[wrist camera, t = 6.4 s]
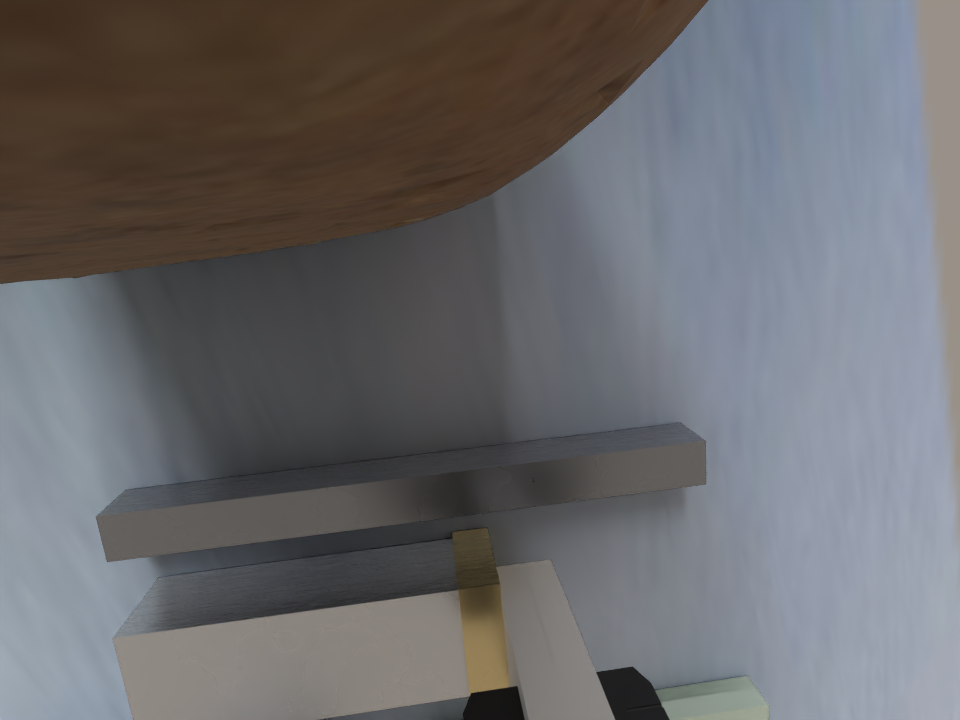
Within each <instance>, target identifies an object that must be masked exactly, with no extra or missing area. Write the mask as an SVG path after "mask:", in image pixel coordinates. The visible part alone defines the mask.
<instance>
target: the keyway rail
mask: <svg viewBox="0 0 960 720" xmlns="http://www.w3.org/2000/svg"><path fill="white" fill-rule="evenodd" d="M705 484H706V441H705V440H704V439H702V438H701V437H700V436H698V435H697V434H696V433H694V432H693V431H691V430H690V429H689V428H687V427H686V426H685V425H683V424H682V423H675V424H667V425H658V426H650V427H642V428H634V429H625V430H617V431H609V432H601V433H592V434H584V435H576V436H568V437H559V438H551V439H543V440H534V441H526V442H518V443H510V444H501V445H493V446H485V447H477V448H468V449H460V450H452V451H444V452H435V453H427V454H419V455H410V456H402V457H394V458H386V459H377V460H369V461H361V462H353V463H344V464H336V465H328V466H320V467H311V468H303V469H295V470H287V471H278V472H270V473H262V474H253V475H245V476H237V477H229V478H220V479H212V480H204V481H196V482H187V483H179V484H171V485H163V486H154V487H146V488H138V489H129V490H125V491H124V492H123V493H122V494H121V495H120V496H118V497H117V498H116V499H115V500H114V501H113V502H112V503H110V504H109V505H108V506H107V507H106V508H105V509H104V510H102V511H101V512H100V513H99V514H98V515H97V516H96V520H97V524H98V528H99V532H100V536H101V540H102V544H103V548H104V552H105V556H106V560H107V562H111V561H119V560H127V559H135V558H142V557H150V556H158V555H165V554H173V553H181V552H189V551H196V550H204V549H212V548H219V547H227V546H235V545H243V544H250V543H258V542H266V541H273V540H281V539H289V538H297V537H304V536H312V535H320V534H327V533H335V532H343V531H351V530H358V529H366V528H374V527H381V526H389V525H397V524H405V523H412V522H420V521H428V520H435V519H443V518H451V517H459V516H466V515H474V514H482V513H489V512H497V511H505V510H513V509H520V508H528V507H536V506H543V505H551V504H559V503H567V502H574V501H582V500H590V499H597V498H605V497H613V496H620V495H628V494H636V493H644V492H651V491H659V490H667V489H674V488H682V487H690V486H698V485H705Z"/></svg>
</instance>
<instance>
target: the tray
mask: <svg viewBox="0 0 960 720" xmlns="http://www.w3.org/2000/svg"><path fill="white" fill-rule="evenodd" d="M655 692H656V694H657V696H658V698H659V700H660V702H661V704H662V707H664V709H665V711H666V713H667V715H668V717H669V719H670V720H769V705H768V703H767V702H766V700H765V699H764V698H763V696H762V695H761V694H760V692H759V691H758V690H757V688H756V687H755V686H754V684H753V683H752V682H751V680H750V679H749V677H748V676H742V677H735V678H729V679H722V680H716V681H710V682H703V683H697V684H690V685H684V686H678V687H671V688H665V689H658V690H655Z"/></svg>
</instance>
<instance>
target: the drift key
mask: <svg viewBox="0 0 960 720" xmlns="http://www.w3.org/2000/svg"><path fill="white" fill-rule="evenodd" d="M113 642H114V646H115V650H116V654H117V658H118V662H119V666H120V669H121V673H122V677H123V681H124V685H125V689H126V693H127V697H128V701H129V705H130V709H131V713H132V717H133V720H319V719H325V718H332V717H338V716H345V715H352V714H358V713H365V712H371V711H378V710H384V709H391V708H397V707H404V706H410V705H417V704H423V703H430V702H436V701H443V700H449V699H456V698H463V697H469V696H470V695H471V693H474V692H481V691H487V690H494V689H501V688H507V687H510V686H509V676H508V665H507V654H506V643H505V633H504V622H503V611H502V600H501V587H500V581H499V577H498V572H497V568H496V564H495V559H494V555H493V551H492V546H491V542H490V538H489V533H488V529H487V527H486V528H478V529H471V530H463V531H456V532H452V539H445V540H437V541H430V542H422V543H415V544H407V545H400V546H392V547H384V548H377V549H369V550H362V551H354V552H347V553H339V554H332V555H324V556H316V557H309V558H301V559H294V560H286V561H279V562H271V563H264V564H256V565H249V566H241V567H233V568H226V569H218V570H211V571H203V572H196V573H188V574H181V575H173V576H165V577H158V579H157V580H156V581H155V583H154V584H153V585H152V587H151V588H150V589H149V591H148V592H147V593H146V595H145V596H144V597H143V599H142V600H141V601H140V603H139V604H138V605H137V607H136V608H135V609H134V611H133V612H132V613H131V615H130V616H129V617H128V618H127V620H126V621H125V622H124V624H123V625H122V626H121V628H120V629H119V630H118V632H117V633H116V634H115V636H114V637H113Z"/></svg>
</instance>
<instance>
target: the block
mask: <svg viewBox="0 0 960 720" xmlns="http://www.w3.org/2000/svg"><path fill="white" fill-rule="evenodd" d="M707 1H708V0H0V284H3V283H12V282H21V281H32V280H46V279H59V278H78V277H84V276H88V275H93V274H101V273H108V272H116V271H123V270H130V269H137V268H144V267H152V266H159V265H167V264H174V263H182V262H189V261H197V260H205V259H212V258H220V257H227V256H234V255H241V254H248V253H256V252H264V251H267V250H272V249H277V248H284V247H292V246H299V245H312V244H315V243H317V242H322V241H326V240H331V239H337V238H342V237H348V236H354V235H359V234H364V233H370V232H375V231H381V230H386V229H391V228H396V227H400V226H404V225H407V224H411V223H414V222H418V221H421V220H425V219H429V218H432V217H434V216H437V215H440V214H442V213H445V212H448V211H452V210H455V209H458V208H460V207H462V206H464V205H466V204H469V203H472V202H474V201H477V200H479V199H481V198H484V197H486V196H488V195H490V194H492V193H494V192H495V191H497V190H498V189H500V188H502V187H503V186H505V185H506V184H508V183H509V182H511V181H513V180H514V179H516V178H517V177H519V176H520V175H522V174H524V173H525V172H527V171H528V170H530V169H532V168H533V167H534V166H536V165H537V164H539V163H540V162H542V161H543V160H544V159H546V158H547V157H549V156H550V155H552V154H553V153H554V152H556V151H557V150H558V149H559V148H560V147H562V146H563V145H564V144H565V143H567V142H568V141H569V140H570V139H571V138H573V137H574V136H575V135H576V134H577V133H579V132H580V131H581V130H582V129H583V128H585V127H586V126H587V125H588V124H589V123H591V122H592V121H593V120H594V119H595V118H597V117H598V116H599V115H600V114H601V113H602V112H603V111H604V110H605V109H606V108H607V107H609V106H610V105H611V104H612V103H613V102H614V101H615V100H616V99H617V98H618V97H619V96H620V95H622V94H623V93H624V92H625V91H626V90H627V89H628V88H629V87H630V85H631V84H632V83H633V82H634V81H635V80H636V79H637V78H638V77H639V76H640V75H641V74H642V73H643V72H644V71H645V70H646V69H647V68H648V67H649V66H650V65H651V64H652V63H653V62H654V61H655V60H656V59H657V58H658V57H659V56H660V55H661V54H662V53H663V52H664V51H665V50H666V49H667V48H668V47H669V46H670V45H671V44H672V43H673V41H674V40H675V39H676V38H677V37H678V36H679V34H680V33H681V32H682V31H683V30H684V28H685V27H686V26H687V25H688V24H689V22H690V21H691V20H692V19H693V18H694V17H695V15H696V14H697V13H698V12H699V11H700V9H701V8H702V7H703V6H704V5H705V4H706V2H707Z"/></svg>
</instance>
